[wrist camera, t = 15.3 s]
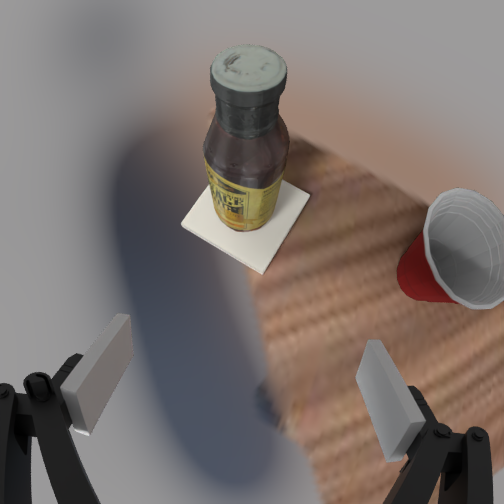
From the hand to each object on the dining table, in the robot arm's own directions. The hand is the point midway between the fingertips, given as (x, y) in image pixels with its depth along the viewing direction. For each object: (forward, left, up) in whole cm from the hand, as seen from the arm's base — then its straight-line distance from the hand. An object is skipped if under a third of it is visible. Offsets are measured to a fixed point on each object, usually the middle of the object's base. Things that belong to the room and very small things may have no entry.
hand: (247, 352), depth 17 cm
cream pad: (+8, -12, -15) cm, 20 cm away
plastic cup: (-12, -16, -15) cm, 25 cm away
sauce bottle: (+8, -12, -14) cm, 20 cm away
